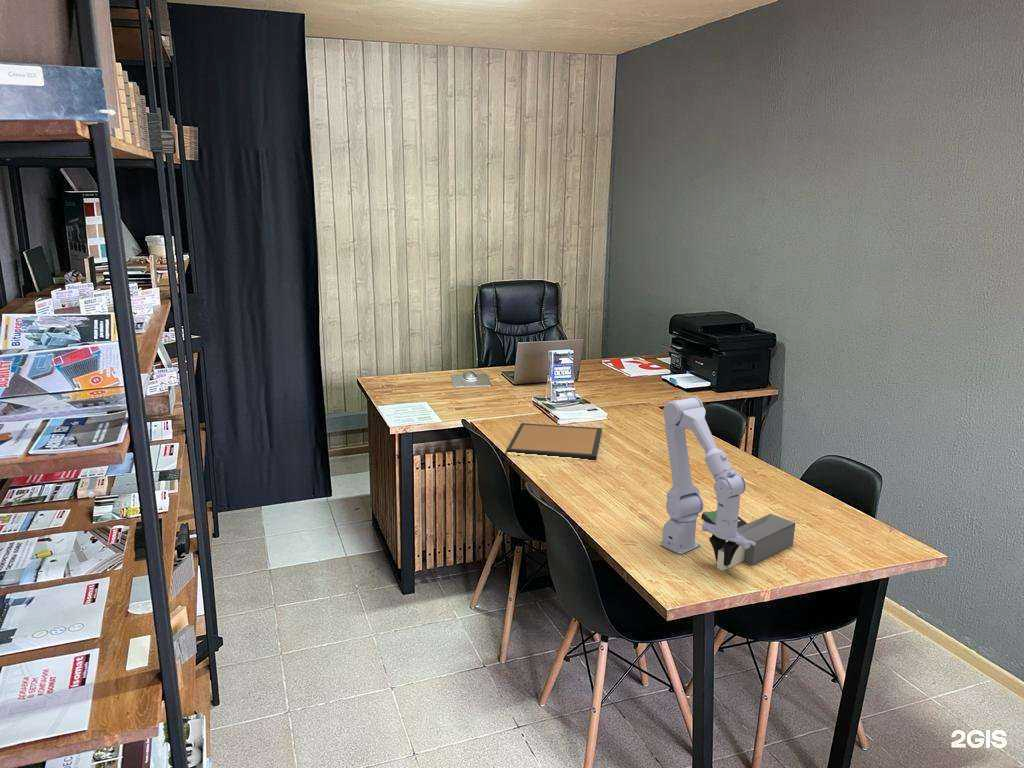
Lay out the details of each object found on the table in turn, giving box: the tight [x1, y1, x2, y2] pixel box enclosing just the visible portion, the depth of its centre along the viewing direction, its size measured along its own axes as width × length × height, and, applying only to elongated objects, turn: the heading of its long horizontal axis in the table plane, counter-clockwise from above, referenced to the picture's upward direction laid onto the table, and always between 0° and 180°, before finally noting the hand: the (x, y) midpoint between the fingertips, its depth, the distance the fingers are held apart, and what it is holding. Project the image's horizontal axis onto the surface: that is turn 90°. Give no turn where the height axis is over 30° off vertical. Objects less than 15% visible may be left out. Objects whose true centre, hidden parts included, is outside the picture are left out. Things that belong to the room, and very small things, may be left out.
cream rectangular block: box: [716, 546, 746, 572], centre depth 211 cm, size 16×2×6 cm, turn 128°
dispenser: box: [737, 513, 796, 566], centre depth 217 cm, size 21×9×7 cm, turn 128°
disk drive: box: [701, 510, 748, 528], centre depth 233 cm, size 10×3×15 cm
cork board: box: [505, 422, 603, 461], centre depth 308 cm, size 36×3×35 cm
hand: (723, 562), depth 207 cm, fingers closed on cream rectangular block, 2 cm apart
